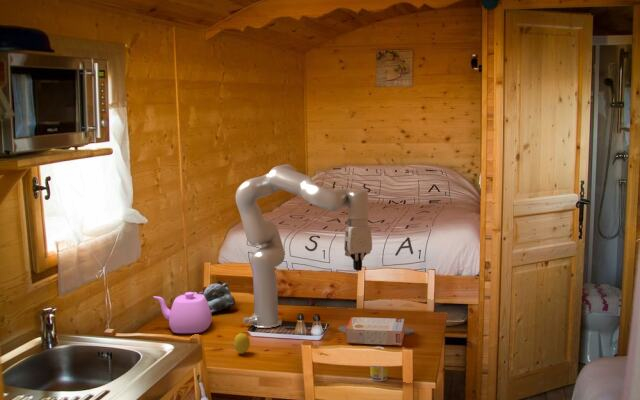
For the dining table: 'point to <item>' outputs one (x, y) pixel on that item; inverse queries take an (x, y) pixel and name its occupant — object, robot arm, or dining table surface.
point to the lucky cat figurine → (218, 296)
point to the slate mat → (407, 331)
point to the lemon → (241, 343)
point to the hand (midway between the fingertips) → (357, 269)
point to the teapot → (187, 313)
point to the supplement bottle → (378, 372)
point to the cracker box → (375, 331)
